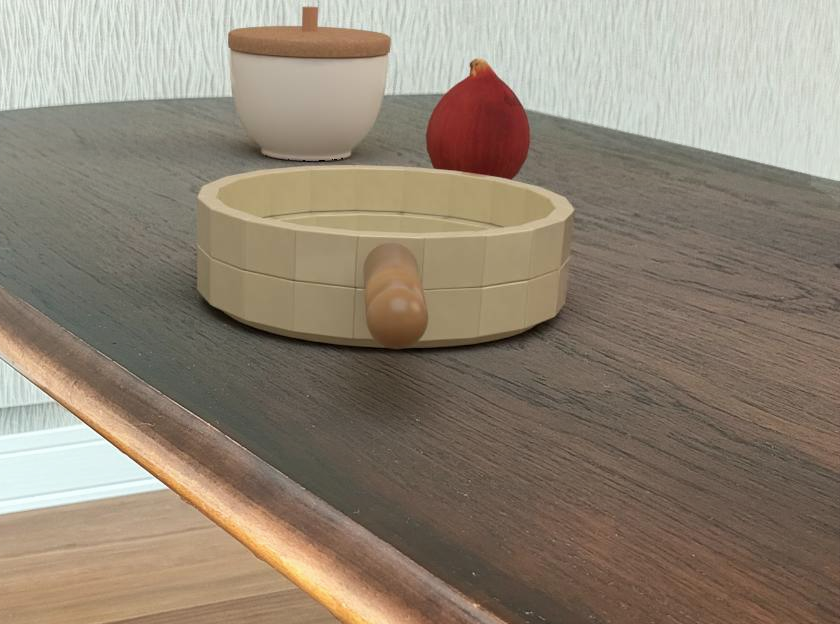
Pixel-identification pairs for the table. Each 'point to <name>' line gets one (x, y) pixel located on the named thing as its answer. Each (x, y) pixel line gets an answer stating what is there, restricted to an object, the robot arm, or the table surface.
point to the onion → (479, 127)
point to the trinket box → (307, 86)
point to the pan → (372, 226)
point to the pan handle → (394, 296)
